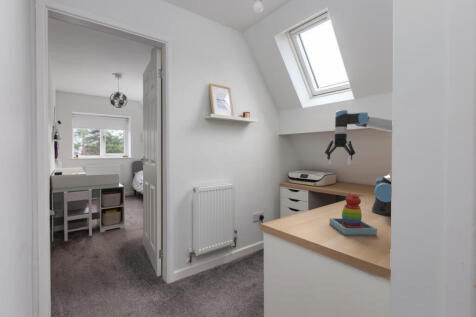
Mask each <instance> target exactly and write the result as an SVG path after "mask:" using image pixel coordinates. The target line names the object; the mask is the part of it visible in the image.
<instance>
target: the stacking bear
mask: <svg viewBox="0 0 476 317" xmlns="http://www.w3.org/2000/svg"><path fill="white" fill-rule="evenodd" d="M345 202H346V203H345V204H344V206H343V209H342V210H341V211H342V212H341V218H342V220H343V223H342V226H344V227H345V228H364V227H363V226H361V225H360V222H361V221H362V218H363V214H362V210H361V206H360V204H361V203H362V200H361V198H360V197H359V196H358V195H357V194H354V193H351V192H349V193H348V195H346V196H345Z"/></svg>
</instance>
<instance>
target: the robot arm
mask: <svg viewBox="0 0 476 317" xmlns="http://www.w3.org/2000/svg"><path fill="white" fill-rule="evenodd" d="M334 118H335V119H334V120H335V121H334V133H335V134H334V140H333V139H332V140H329V144H328V146H327V147H326V149H325V151H324V154H325V155H326V156H327V157H326V158H327V161H328V163H327V164H328V165H332V153H333V152H334V151H335V150H337V148H343V149H344V150H345V152H347V154H348V155H347V165H348V166H351V165H352V160H353V156H354V155H356V152H355V149H354V147H353V144H352V141H351V140H347V138H348V134H347V133H348V125H355V126H356V127H363V128H368V129H373V130H378V131H385V132H389V133H393V132H392V119H388V118H387V119H386V118H381V117H374V116H369V113H368V112H366V111H365V112H363V111H360V112H351V113H350V112H348V110H347V109H346V110H345V109H341V110H336V112H335V117H334ZM333 144H334V145H333ZM373 190H374V191H373V194H374V196H375V197H374V202H373V204H372V207H371V212H373V213H374V214H377V215H382V216H388V217H389V216H391V171H390V172H389V173H388V174H387V175H384V176H383V177H382V178H381V177H380V178H376V179H375V187H374V189H373Z"/></svg>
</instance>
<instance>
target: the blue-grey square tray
mask: <svg viewBox="0 0 476 317" xmlns="http://www.w3.org/2000/svg"><path fill="white" fill-rule="evenodd" d="M328 223H329V225H330V226H331V227H333V228H334V229H335V230H336V231H338V232H339V233H340V234H342V235H343V236H344V237H377V236H378V229H377V228H376V227H374V226H372V225H370V224H369V223H367V222H365V221H363V220H361V222H360V225H361V226H363V227H364V228H345V227H344V226H342V223H343V220H342V217H337V218H336V217H329V222H328Z"/></svg>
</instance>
